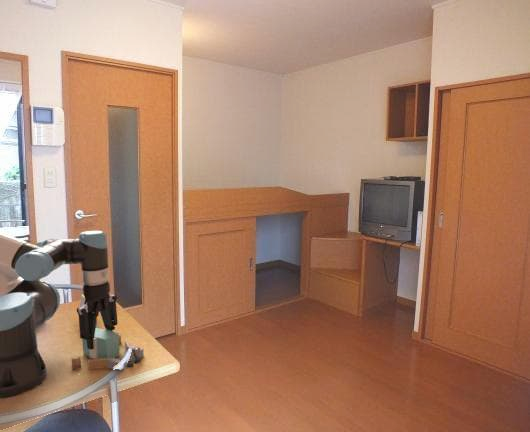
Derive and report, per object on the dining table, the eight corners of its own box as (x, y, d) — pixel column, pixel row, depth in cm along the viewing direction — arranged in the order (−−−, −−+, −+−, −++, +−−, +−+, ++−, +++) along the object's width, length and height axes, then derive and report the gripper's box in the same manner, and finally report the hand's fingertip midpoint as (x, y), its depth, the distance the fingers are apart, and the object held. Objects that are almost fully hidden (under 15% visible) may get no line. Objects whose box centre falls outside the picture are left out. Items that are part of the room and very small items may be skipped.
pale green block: (107, 361, 118) (105, 339, 117) (83, 354, 122) (81, 333, 121) (119, 354, 123) (118, 333, 122) (96, 347, 127) (94, 327, 126)
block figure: (108, 378, 109) (108, 370, 109) (70, 366, 115) (69, 359, 115) (153, 349, 126) (152, 342, 125) (117, 340, 132) (117, 334, 131)
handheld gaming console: (89, 320, 154) (98, 328, 142) (81, 321, 152) (90, 330, 140) (86, 292, 154) (95, 297, 142) (78, 293, 152) (87, 299, 140)
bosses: (130, 368, 114) (129, 355, 114) (125, 366, 115) (124, 354, 115) (142, 360, 119) (141, 348, 118) (137, 359, 120) (136, 346, 119)
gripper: (80, 292, 110) (86, 370, 113) (127, 275, 126) (131, 343, 129) (61, 289, 113) (67, 364, 116) (109, 272, 129) (114, 339, 132)
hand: (101, 353), depth 123 cm, fingers closed on pale green block, 5 cm apart
